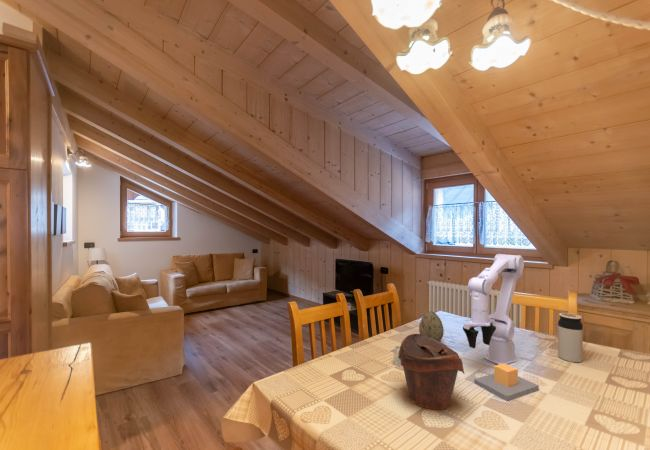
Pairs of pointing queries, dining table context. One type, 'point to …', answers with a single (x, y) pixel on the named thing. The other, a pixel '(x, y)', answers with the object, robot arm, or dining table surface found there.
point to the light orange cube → (505, 374)
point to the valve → (397, 361)
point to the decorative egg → (431, 326)
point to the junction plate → (504, 391)
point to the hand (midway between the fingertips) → (479, 345)
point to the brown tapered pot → (429, 370)
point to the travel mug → (570, 337)
